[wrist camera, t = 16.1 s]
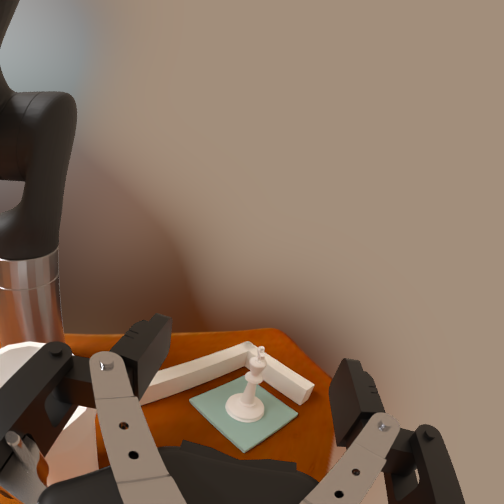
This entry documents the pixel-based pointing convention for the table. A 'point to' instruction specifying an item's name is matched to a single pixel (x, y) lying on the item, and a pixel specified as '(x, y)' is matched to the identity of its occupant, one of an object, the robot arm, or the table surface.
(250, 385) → the chess piece
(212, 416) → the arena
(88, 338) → the table surface
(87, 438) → the foam cup
